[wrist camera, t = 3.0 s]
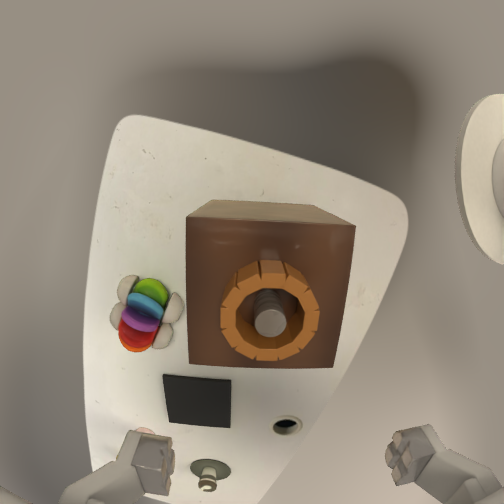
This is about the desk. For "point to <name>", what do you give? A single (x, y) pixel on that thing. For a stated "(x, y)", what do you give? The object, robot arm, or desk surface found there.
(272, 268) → the grooved wooden ring
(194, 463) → the coffee cup
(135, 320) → the rainbow disc roller toy
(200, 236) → the tape stand
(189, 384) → the mat
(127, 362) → the desk surface
